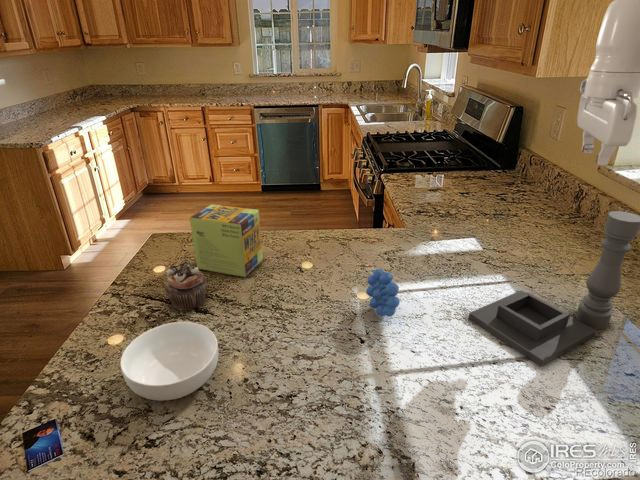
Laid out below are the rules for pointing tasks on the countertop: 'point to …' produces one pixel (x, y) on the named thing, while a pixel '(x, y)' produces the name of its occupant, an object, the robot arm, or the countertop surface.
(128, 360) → the cereal bowl
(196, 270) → the cupcake
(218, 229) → the protein box
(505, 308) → the display stand
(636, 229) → the candle holder
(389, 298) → the grapes
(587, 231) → the countertop surface
